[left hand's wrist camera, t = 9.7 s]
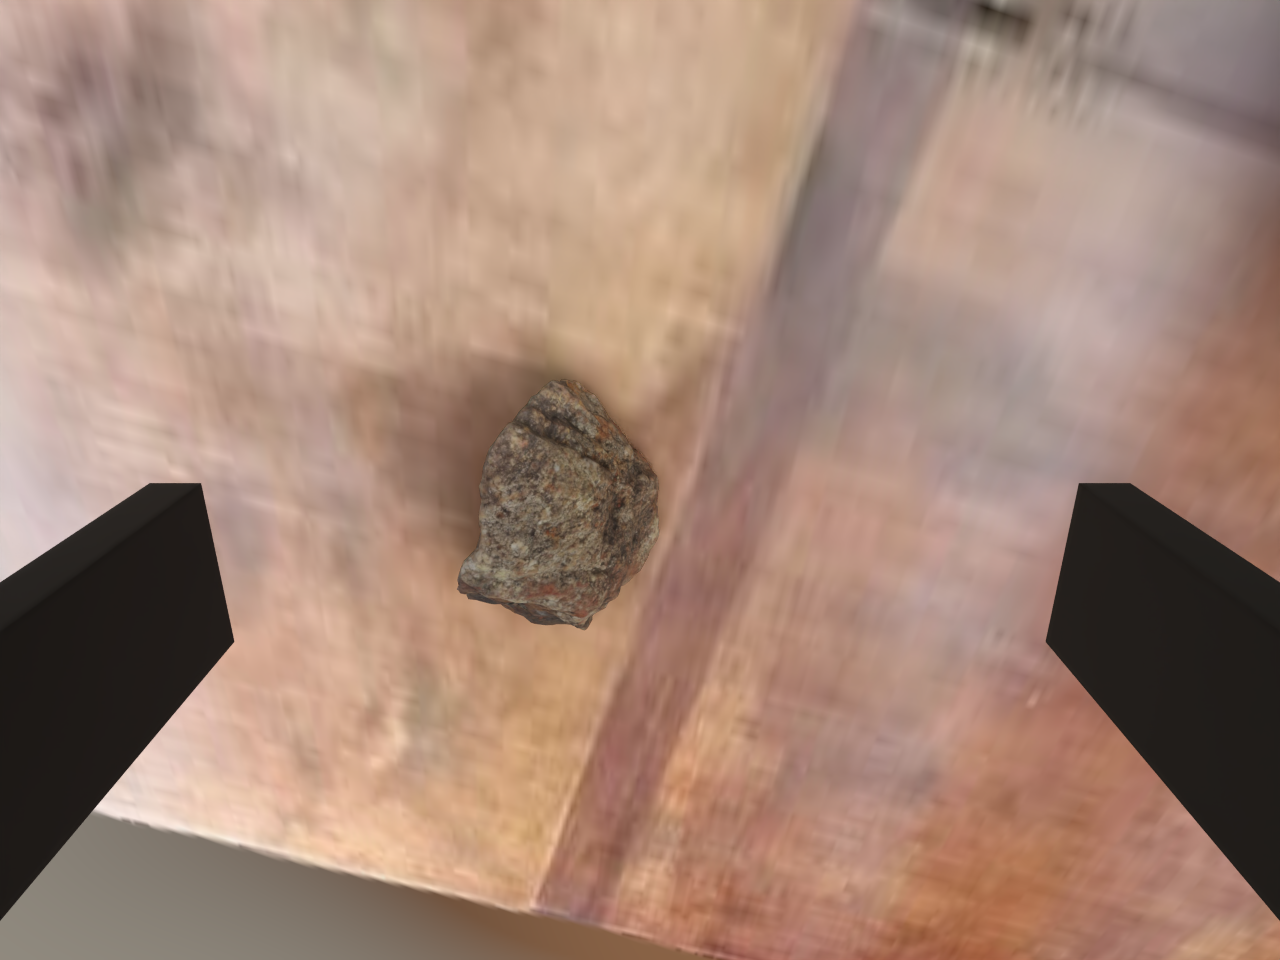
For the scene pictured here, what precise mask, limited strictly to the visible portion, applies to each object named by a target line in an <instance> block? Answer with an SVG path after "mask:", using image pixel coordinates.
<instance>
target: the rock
mask: <svg viewBox="0 0 1280 960" xmlns="http://www.w3.org/2000/svg"><path fill="white" fill-rule="evenodd" d="M479 489H480V496H481V499H482V500H481V506H480V511H479V526H480V530H481V533H480V537H479V540H478V544H477V548H476V549H475V550H474V551H473V552H472V553H471V554H470V555H469V556H468V558H467V559H465V560H464V562H463V564H462V567H461V569H460V573H459V576H458V584H459V586H458V588H457V590H459V592H460V593H462V594H467V597H468V599H473V600H478V601H482V602H486V603H490V604H502V605H503V606H504V607H505V608H507V609H509V610H511V611H512V612H514V613H516V614H519V615H522V616H524V617H525V618H526V619H528V620H529V621H530V622H531V623H534V624H541V625H555V624H571V625H573V626H575V627H577V628H580V629H582V630H586V629H587V628H588V626H589V625H590V623H591V621H592V616H593V615H594V614H595V613H597V612H599V611H600V610H602V609H604V608H605V607H606V606H607V604H608V602H609V601H611V600H613V599H615V598H616V597H617V596H618V594H619V592H620V587H621V586H623V585H625V584H626V583H627V582H628V581H630V580H631V579H632V577H633V576H634V575H635V574H637V573H638V572H639V571H640V570H641V568H642V567H643V565H644V563H645V561H646V560H647V558H648V555H649V552H650V549H651V548H652V547H653V546H654V544H655V543H656V541H657V539H658V535H659V527H658V523H659V518H658V509H657V498H658V490H659V483H658V477H657V475H656V474H655V473H654V472H653V471H652V469H651V466H650V464H648V463H647V461H646V460H645V458H644V457H643V456H642V455H641V454H640V453H639V452H638V451H637V450H635V449H632V447H631V446H630V444H629V443H628V441H627V439H626V437H625V435H624V434H623V433H622V432H621V430H620V429H619V427H618V426H617V425H616V424H615V423H614V422H613V421H612V420H611V419H610V418H609V416H608V414H607V413H606V411H605V409H604V408H603V406H602V405H601V404H600V402H599V400H598V398H597V397H596V396H595V395H594V394H592V393H590V392H588V391H587V390H586V389H585V388H584V387H583V386H582V385H581V384H580V383H578V382H576V381H569V380H561V381H560V382H559V381H555V380H552V381H551V382H549V383H548V384H546V385H545V386H544V387H543V388H542V389H541V390H540V391H539V392H538V393H537V395H535V396H532V397H531V398H530V400H529V402H528V403H527V405H526V406H525V407H524V408H522V409H521V410H520V411H519V413H518V414H517V416H516V417H515V419H514V420H513V421H512V422H511V423H508V424H507V426H506V427H505V428H504V429H503V431H502V432H501V433H500V435H499V436H498V437H497V439H496V441H495V442H494V443H493V444H492V446H491V447H490V449H489V451H488V454H487V457H486V460H485V463H484V466H483V474H482V480H481V482H480V485H479Z"/></svg>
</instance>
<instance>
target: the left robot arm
mask: <svg viewBox="0 0 1280 960" xmlns="http://www.w3.org/2000/svg"><path fill="white" fill-rule="evenodd" d="M233 643H234V638H233V633H232V628H231V623H230V619H229V614H228V609H227V604H226V600H225V595H224V590H223V585H222V581H221V576H220V571H219V566H218V562H217V557H216V552H215V547H214V543H213V538H212V533H211V528H210V523H209V519H208V514H207V509H206V504H205V500H204V495H203V490H202V485H201V483H149V484H148V485H146V486H145V487H143V488H142V489H140V490H139V491H137V492H136V493H134V494H133V495H131V496H130V497H128V498H127V499H125V500H124V501H122V502H121V503H119V504H118V505H116V506H115V507H113V508H112V509H110V510H109V511H107V512H106V513H104V514H103V515H101V516H100V517H98V518H97V519H95V520H94V521H92V522H91V523H89V524H88V525H86V526H85V527H83V528H82V529H80V530H79V531H77V532H76V533H74V534H73V535H71V536H70V537H68V538H67V539H65V540H64V541H62V542H60V543H59V544H57V545H56V546H54V547H53V548H51V549H50V550H48V551H47V552H45V553H44V554H42V555H41V556H39V557H38V558H36V559H35V560H33V561H32V562H30V563H29V564H27V565H26V566H24V567H23V568H21V569H20V570H18V571H17V572H15V573H14V574H12V575H11V576H9V577H8V578H6V579H5V580H3V581H2V582H0V920H1V919H2V918H3V917H4V916H5V914H6V913H7V912H8V911H9V910H10V908H11V907H12V906H13V905H14V904H15V902H16V901H17V900H18V899H19V898H20V896H21V895H22V894H23V893H24V892H25V890H26V889H27V888H28V887H29V886H30V885H31V883H32V882H33V881H34V880H35V879H36V877H37V876H38V875H39V874H40V873H41V871H42V870H43V869H44V868H45V867H46V865H47V864H48V863H49V862H50V861H51V859H52V858H53V857H54V856H55V855H56V854H57V852H58V851H59V850H60V849H61V848H62V846H63V845H64V844H65V843H66V842H67V840H68V839H69V838H70V837H71V836H72V835H73V833H74V832H75V831H76V830H77V829H78V827H79V826H80V825H81V824H82V823H83V821H84V820H85V819H86V818H87V817H88V815H89V814H90V813H91V812H92V811H93V810H94V808H95V807H96V806H97V805H98V804H99V802H100V801H101V800H102V799H103V798H104V796H105V795H106V794H107V793H108V792H109V790H110V789H111V788H112V787H113V786H114V784H115V783H116V782H117V781H118V780H119V779H120V777H121V776H122V775H123V774H124V773H125V771H126V770H127V769H128V768H129V767H130V765H131V764H132V763H133V762H134V761H135V759H136V758H137V757H138V756H139V755H140V754H141V752H142V751H143V750H144V749H145V748H146V746H147V745H148V744H149V743H150V742H151V740H152V739H153V738H154V737H155V736H156V734H157V733H158V732H159V731H160V730H161V728H162V727H163V726H164V725H165V724H166V723H167V721H168V720H169V719H170V718H171V717H172V715H173V714H174V713H175V712H176V711H177V709H178V708H179V707H180V706H181V705H182V703H183V702H184V701H185V700H186V699H187V697H188V696H189V695H190V694H191V693H192V692H193V690H194V689H195V688H196V687H197V686H198V684H199V683H200V682H201V681H202V680H203V678H204V677H205V676H206V675H207V674H208V672H209V671H210V670H211V669H212V668H213V667H214V665H215V664H216V663H217V662H218V661H219V659H220V658H221V657H222V656H223V655H224V653H225V652H226V651H227V650H228V649H229V647H230V646H231V645H232V644H233ZM1046 643H1047V644H1048V645H1049V646H1050V647H1051V649H1052V650H1053V651H1054V652H1055V653H1056V655H1057V656H1058V657H1059V658H1060V659H1061V661H1062V662H1063V663H1064V664H1065V665H1066V667H1067V668H1068V669H1069V670H1070V671H1071V672H1072V674H1073V675H1074V676H1075V677H1076V678H1077V680H1078V681H1079V682H1080V683H1081V684H1082V686H1083V687H1084V688H1085V689H1086V690H1087V692H1088V693H1089V694H1090V695H1091V696H1092V697H1093V699H1094V700H1095V701H1096V702H1097V703H1098V705H1099V706H1100V707H1101V708H1102V709H1103V711H1104V712H1105V713H1106V714H1107V715H1108V717H1109V718H1110V719H1111V720H1112V721H1113V723H1114V724H1115V725H1116V726H1117V727H1118V728H1119V730H1120V731H1121V732H1122V733H1123V734H1124V736H1125V737H1126V738H1127V739H1128V740H1129V742H1130V743H1131V744H1132V745H1133V746H1134V748H1135V749H1136V750H1137V751H1138V752H1139V754H1140V755H1141V756H1142V757H1143V758H1144V759H1145V761H1146V762H1147V763H1148V764H1149V765H1150V767H1151V768H1152V769H1153V770H1154V771H1155V773H1156V774H1157V775H1158V776H1159V777H1160V779H1161V780H1162V781H1163V782H1164V783H1165V784H1166V786H1167V787H1168V788H1169V789H1170V790H1171V792H1172V793H1173V794H1174V795H1175V796H1176V798H1177V799H1178V800H1179V801H1180V802H1181V804H1182V805H1183V806H1184V807H1185V808H1186V810H1187V811H1188V812H1189V813H1190V814H1191V815H1192V817H1193V818H1194V819H1195V820H1196V821H1197V823H1198V824H1199V825H1200V826H1201V827H1202V829H1203V830H1204V831H1205V832H1206V833H1207V835H1208V836H1209V837H1210V838H1211V839H1212V840H1213V842H1214V843H1215V844H1216V845H1217V846H1218V848H1219V849H1220V850H1221V851H1222V852H1223V854H1224V855H1225V856H1226V857H1227V858H1228V860H1229V861H1230V862H1231V863H1232V864H1233V866H1234V867H1235V868H1236V869H1237V870H1238V871H1239V873H1240V874H1241V875H1242V876H1243V877H1244V879H1245V880H1246V881H1247V882H1248V883H1249V885H1250V886H1251V887H1252V888H1253V889H1254V891H1255V892H1256V893H1257V894H1258V895H1259V897H1260V898H1261V899H1262V900H1263V901H1264V902H1265V904H1266V905H1267V906H1268V907H1269V908H1270V910H1271V911H1272V912H1273V913H1274V914H1275V916H1276V917H1277V918H1278V919H1279V920H1280V582H1278V581H1277V580H1275V579H1274V578H1272V577H1271V576H1269V575H1268V574H1266V573H1265V572H1263V571H1262V570H1260V569H1259V568H1257V567H1256V566H1254V565H1253V564H1251V563H1250V562H1248V561H1247V560H1245V559H1244V558H1242V557H1241V556H1239V555H1238V554H1236V553H1235V552H1233V551H1232V550H1230V549H1229V548H1227V547H1226V546H1224V545H1223V544H1221V543H1220V542H1218V541H1216V540H1215V539H1213V538H1212V537H1210V536H1209V535H1207V534H1206V533H1204V532H1203V531H1201V530H1200V529H1198V528H1197V527H1195V526H1194V525H1192V524H1191V523H1189V522H1188V521H1186V520H1185V519H1183V518H1182V517H1180V516H1179V515H1177V514H1176V513H1174V512H1173V511H1171V510H1170V509H1168V508H1167V507H1165V506H1164V505H1162V504H1161V503H1159V502H1158V501H1156V500H1155V499H1153V498H1152V497H1150V496H1149V495H1147V494H1146V493H1144V492H1143V491H1141V490H1140V489H1138V488H1137V487H1135V486H1134V485H1132V484H1131V483H1079V485H1078V490H1077V495H1076V500H1075V504H1074V509H1073V514H1072V519H1071V523H1070V528H1069V533H1068V538H1067V543H1066V547H1065V552H1064V557H1063V562H1062V566H1061V571H1060V576H1059V581H1058V585H1057V590H1056V595H1055V600H1054V604H1053V609H1052V614H1051V619H1050V623H1049V628H1048V633H1047V638H1046Z"/></svg>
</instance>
